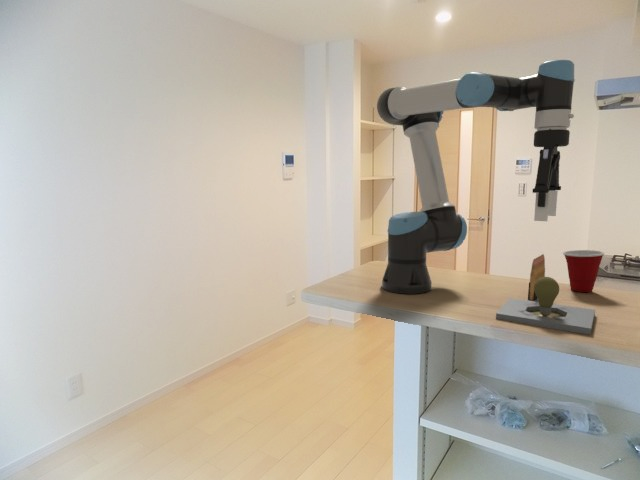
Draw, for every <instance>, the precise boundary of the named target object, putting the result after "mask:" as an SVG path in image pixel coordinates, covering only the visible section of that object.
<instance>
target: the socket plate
mask: <svg viewBox="0 0 640 480" xmlns="http://www.w3.org/2000/svg"><path fill="white" fill-rule="evenodd" d="M595 317H596V309H592V308H586V307H578V306H572V305H571V306H570V305H564V304H555V303H553V305H552V307H551V314H550V315H548V316H547V317H544V316H543V315H542V314H540V305H539V301H537V300H536V301H531V300H528V299H521V298H513V297H510V298H508V300H507V301H506V302H505V303H504V304H503V305H502V306H501V308H499V310H498V311H497V312H496V313H495V319H498V320H503V321H508V322H515V323H519V324H526V325H530V326H536V327H541V328H548V329H553V330H559V331H565V332H571V333H577V334H583V335H589V336H591V334H592V330H593V329H592V328H593V325H594V320H595Z"/></svg>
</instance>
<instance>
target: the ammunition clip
mask: <svg viewBox="0 0 640 480" xmlns="http://www.w3.org/2000/svg"><path fill="white" fill-rule="evenodd" d="M545 260H546V259H545V255H544V253H542V254H540V255H539V256H537V257H535V258H534V259H533V260H532V263H531V269H530V277H529V282H528V293H527V300H529V301H536V302H537V301H538V298H537V296H536V294H535V291H534V285H535V282H536V281H537V280H538V279H540V278H542V277H546V265H545V264H546V261H545Z"/></svg>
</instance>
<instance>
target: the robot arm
mask: <svg viewBox="0 0 640 480" xmlns="http://www.w3.org/2000/svg"><path fill="white" fill-rule="evenodd" d="M575 81H576V80H575V64H574V62H573V61H571V60H568V59H552V60H548V61H544V62H543V63H541V64H539V66H538V71H537V74H534V75H530V76H525V77H513V76H512V77H511V76H503V75H497V74H491V73H486V72H482V71H481V72H480V71H478V72H468V73H465V74H464V75H463V76H462V77H461V78H456V79H451V80H446V81H440V82H435V83H430V84H425V85H420V86H413V87H408V88H406V87H404V86H396V87H391V88H387V89H386V90H384V91H383V92H382V93H381V94H380V95H379V97H378V99H377V103H376V110H377V114H378V116H379V117H380V119H381V120H383V121H384V122H385V123H387V124H390V125H394V126H395V125H396V126H402V130H403V134H404V136H405V137H407V138H409V143H410V148H411V153H412V159H413V165H414V169H415V175H416V180H417V185H418V190H419V196H420V202H421V206H422V207H421V209H420V210H419V211H410V212H409V211H408V212H401V213H397V214H394V215H392V216H391V217H390V218H389V220H388V225H387V226H388V228H387V237H388V238H387V264H386V268H385V270H384V273H383V274H384V275H383V276H382V282H381V284H382V285H381V287H382V289H383V290H385V291H387V292H390V293H394V294H395V293H396V294H403V295H405V294H406V295H410V294H411V295H412V294H424V293H427V292H429V291H431V290H432V279H431V275H430V273H429V270H428V266H427V254H428V253H434V252H442V251H443V252H446V251H447V252H448V251H450V250H455V249H457V248H459V247H460V246H461V245H462V244H463V243H464V241H465V240H466V238H467V237H466V236H467V233H468V225H467V222H466V219H465V218H464V217H463V216H462V215H461V214H459V213H457V211H456V206H455V205H454V204H453V203H452V202H450V200H449V194H448V190H447V189H448V188H447V184H446V180H445V178H446V177H445V174H444V168H443V163H442V159H441V154H440V153H441V152H440V147H439V142H438V139H437V130H438V129H439V128H440V123H441V120H442V119H443V114H444V112H445V111H447V112H448V111H454V110H461V109H474V108H493V109H496V110H497V111H499V112H514V111H517V110H522V109H529V108H535V115H534V127H533V128H534V129H535V130H536V131H535V132H534V134H533V147H535V148H543V149H540V150H539V160H538V167H537V173H536V178H535V186H534V188H532V194H535V203H534V217H533V221H535V222H549V221H548V220H549V219H548V218H549V217H556V216H557V202H558V192H559V191H561V190H562V186H560V160H561V152H560V150H558V147H560V148H561V147H563V148H564V147H567V146H569V144H570V135H571V134H570V133H571V132H570V130H569V129H568V128H571V119H573V118H574V117H575V115H574V113H572V107H573V106H572V105H573V104H572V102H573V92H574V83H575Z"/></svg>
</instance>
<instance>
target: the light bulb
mask: <svg viewBox="0 0 640 480" xmlns="http://www.w3.org/2000/svg"><path fill="white" fill-rule="evenodd" d="M534 291H535V294H536V296H537V298H538V299H537V302H539V305H540V314H542V315H543V316H544V317H547V316H548V315H550V314H551V307H552V305H553V304H554V302H555V300H556V299H557V296H559V293H560V285H559V283H558V282H557V280H555V279H554V278H553V277H550V276H545V277H542V278H540V279H538V280H537V281H536V282H535V285H534Z"/></svg>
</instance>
